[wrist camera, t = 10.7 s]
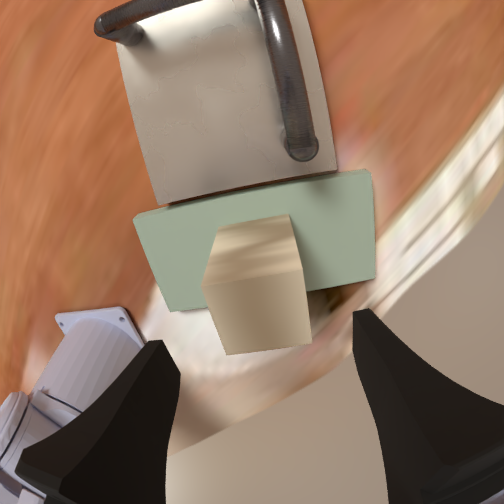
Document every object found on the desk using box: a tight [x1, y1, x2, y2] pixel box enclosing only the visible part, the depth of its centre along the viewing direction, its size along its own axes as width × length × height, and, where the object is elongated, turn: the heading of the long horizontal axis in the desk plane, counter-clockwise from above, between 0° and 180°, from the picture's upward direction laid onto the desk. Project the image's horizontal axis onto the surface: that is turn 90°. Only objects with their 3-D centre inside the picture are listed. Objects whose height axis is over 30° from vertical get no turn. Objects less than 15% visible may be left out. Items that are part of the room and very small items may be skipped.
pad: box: [133, 169, 375, 312], centre depth 18 cm, size 7×14×1 cm, turn 102°
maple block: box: [201, 214, 312, 355], centre depth 15 cm, size 4×4×6 cm
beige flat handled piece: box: [94, 0, 337, 205], centre depth 12 cm, size 12×10×5 cm
